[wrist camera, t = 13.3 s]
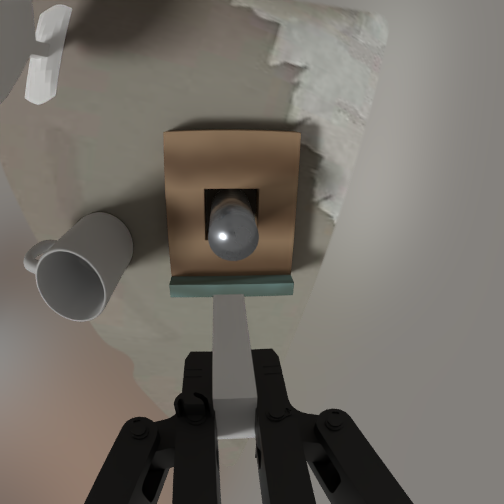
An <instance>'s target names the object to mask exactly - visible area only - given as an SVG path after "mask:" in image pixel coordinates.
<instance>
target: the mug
mask: <svg viewBox="0 0 504 504" xmlns="http://www.w3.org/2000/svg"><path fill="white" fill-rule="evenodd" d="M42 253H44V254H43V255H42V257H41V258H40V260H36V259H35V258H36V257H37V256H39V255H40V254H42ZM132 254H133V241H132V237H131V234H130V232H129V230H128V229H127V227H126V226H125V225H124V223H123V222H121V221H120V220H119V219H118V218H116V217H115V216H113V215H111V214H108V213H103V212H96V213H91V214H88V215H86V216H85V217H83V218H82V219H81V220H79V221H78V222H77V223H76V224H75V225H74V226H73V227H72V228H71V229H70V230H69V231H68V232H67V233H65V234H64V235H63V236H62V237H61V238H60V239H59V240H58V241H57V240H44V241H41V242H39V243H37V244H36V245H34V246H33V247H32V248H31V249H30V250H29V251H28V252H27V253H26V255H25V257H24V266H25V268H26V269H27V270H28V271H30V272H32V273H35V274H36V283H37V287H38V290H39V292H40V294H41V296H42V298H43V299H44V301H45V302H46V303H47V305H48V306H49V307H50V308H51V309H52V310H53V311H55V312H56V313H58V314H59V315H60V316H63V317H64V318H67V319H69V320H73V321H89V320H92V319H94V318H96V317H97V316H99V315H100V314H101V313H102V311H103V310H104V308H105V307H106V305H107V303H108V301H109V299H110V297H111V295H112V293H113V291H114V290H115V288H116V286H117V284H118V282H119V280H120V278H121V276H122V275H123V273H124V271H125V269H126V268H127V266H128V264H129V263H130V260H131V258H132Z"/></svg>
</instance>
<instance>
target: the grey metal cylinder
mask: <svg viewBox="0 0 504 504" xmlns="http://www.w3.org/2000/svg"><path fill="white" fill-rule="evenodd" d="M258 241H259V233H258V229H257V226H256V223H255V219H254V216H253V213H252V209H251V206H250V203H249V200H248V197H247V196H246V194H245V193H244V192H243V191H241V190H240V189H237V188H232V189H222V190H220V191H219V192H217V193H216V195H215V196H214V198H213V200H212V205H211V214H210V223H209V233H208V242H209V245H210V248H211V249H212V251H213V252H214V253H215V254H216V255H217V256H218V257H220V258H222V259H224V260H228V261H238V260H242V259H244V258H246V257H248V256H249V255H251V254H252V253H253V252H254V250H255V249H256V247H257V245H258Z"/></svg>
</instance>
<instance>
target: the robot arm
mask: <svg viewBox="0 0 504 504" xmlns="http://www.w3.org/2000/svg"><path fill="white" fill-rule="evenodd" d="M174 407H175V411H176V414H175V415H174V416H172V417H171V418H168V419H165V420H161V421H157V422H153V421H152V420H150V419H148V418H146V417H135V418H132V419H130V420H128V421H127V422H126V423H125V424H124V425H123V427H122V429H121V431H120V433H119V435H118V437H117V438H116V441H115V442H114V445H113V446H112V448H111V450H110V452H109V454H108V456H107V458H106V460H105V462H104V464H103V466H102V468H101V470H100V472H99V474H98V476H97V478H96V480H95V482H94V485H93V487H92V489H91V491H90V493H89V495H88V497H87V499H86V501H85V503H84V504H157V501H158V499H159V496H160V493H161V491H162V488H163V485H164V482H165V480H166V477H167V474H168V471H169V469H170V468H171V467H174V475H173V500H172V503H173V504H221V494H220V475H219V451H218V439H237V438H254V437H256V454H255V458H257V463H258V470H259V471H258V472H259V479H260V487H261V495H262V503H263V504H316V501H315V497H314V493H313V488H312V484H311V480H310V475H309V471H308V467H307V462H308V464H309V466H310V468H311V469H312V471H313V473H314V475H315V476H316V478H317V480H318V482H319V484H320V485H321V487H322V489H323V490H324V492H325V494H326V496H327V497H328V499H329V501H330V502H331V504H413V502H412V501H411V500H410V498H409V497H408V496H407V494H406V493H405V492H404V490H403V489H402V487H401V486H400V485H399V483H398V482H397V481H396V479H395V478H394V477H393V475H392V474H391V472H390V471H389V470H388V468H387V467H386V466H385V464H384V463H383V462H382V460H381V459H380V457H379V456H378V455H377V453H376V452H375V450H374V449H373V448H372V446H371V445H370V444H369V442H368V441H367V439H366V438H365V437H364V435H363V434H362V432H361V431H360V430H359V428H358V427H357V426H356V424H355V423H354V421H353V420H352V419H351V417H350V416H349V415H348V414H347V413H346V412H344V411H342V410H339V409H329V410H325V411H323V412H322V413H320V415H314V414H307V413H302V412H300V411H298V410H296V409H295V408H294V407H293V406H292V405H291V404H290V402H289V400H288V396H287V391H286V387H285V383H284V378H283V375H282V369H281V365H280V361H279V356H278V355H277V354H276V353H275V352H274V350H273V349H254V350H251V347H250V339H249V331H248V324H247V316H246V309H245V301H244V294H229V295H213V352H190V353H189V355H188V356H187V358H186V359H185V366H184V378H183V388H182V393H180V394H179V395H178V396H177V397H176V399H175V402H174ZM306 461H307V462H306Z"/></svg>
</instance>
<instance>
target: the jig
mask: <svg viewBox="0 0 504 504" xmlns="http://www.w3.org/2000/svg"><path fill="white" fill-rule="evenodd" d="M300 139H301V133H299V132H295V131H279V130H248V129H204V130H174V131H166V132H164V172H165V195H166V212H167V227H168V241H169V253H170V264H171V274H172V277H171V281H170V285H169V286H170V295H171V297H213V295H229V294H244V296H278V295H293V288H294V282H293V279H292V277H291V265H292V253H293V242H294V230H295V217H296V203H297V189H298V174H299V157H300ZM232 188H245V189H256V212H255V223H256V226H257V229H258V233H259V241H258V245H257V247H256V249H255V250H254V252H253V253H252V254H251V255H249V256H248V257H246V258H244V259H242V260H238V261H228V260H224V259H222V258H220V257H218V256H217V255H216V254H215V253H214V252H213V251H212V249H211V248H210V245H209V242H208V233H209V231H206V197H205V189H232Z"/></svg>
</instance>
